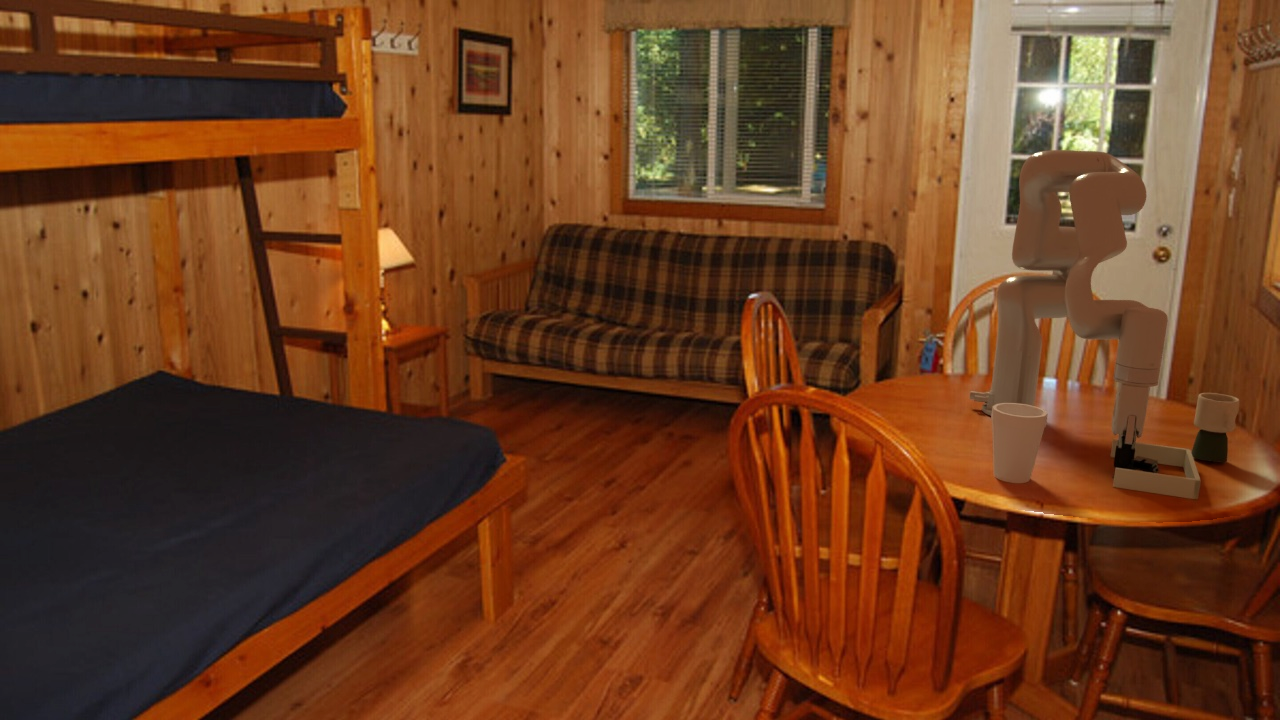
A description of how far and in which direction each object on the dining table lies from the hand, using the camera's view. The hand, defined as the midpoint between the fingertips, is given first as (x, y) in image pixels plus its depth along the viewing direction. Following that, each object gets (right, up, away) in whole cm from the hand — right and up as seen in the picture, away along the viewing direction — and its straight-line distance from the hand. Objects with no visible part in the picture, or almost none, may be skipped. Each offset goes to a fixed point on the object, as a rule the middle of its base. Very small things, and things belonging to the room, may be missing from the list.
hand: (1122, 467), depth 189 cm
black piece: (+2, -3, -4) cm, 5 cm away
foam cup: (-23, -2, -4) cm, 23 cm away
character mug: (+21, 0, +8) cm, 23 cm away
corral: (+5, -1, -2) cm, 5 cm away
